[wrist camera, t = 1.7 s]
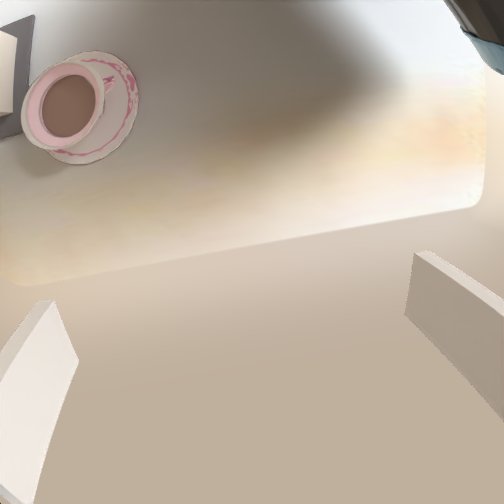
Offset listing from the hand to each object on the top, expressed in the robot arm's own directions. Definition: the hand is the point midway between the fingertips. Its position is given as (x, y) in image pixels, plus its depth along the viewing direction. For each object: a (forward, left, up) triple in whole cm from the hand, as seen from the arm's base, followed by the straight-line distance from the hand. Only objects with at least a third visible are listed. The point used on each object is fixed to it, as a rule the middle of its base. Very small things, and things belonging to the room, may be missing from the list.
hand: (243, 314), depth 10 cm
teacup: (-10, -13, -23) cm, 28 cm away
